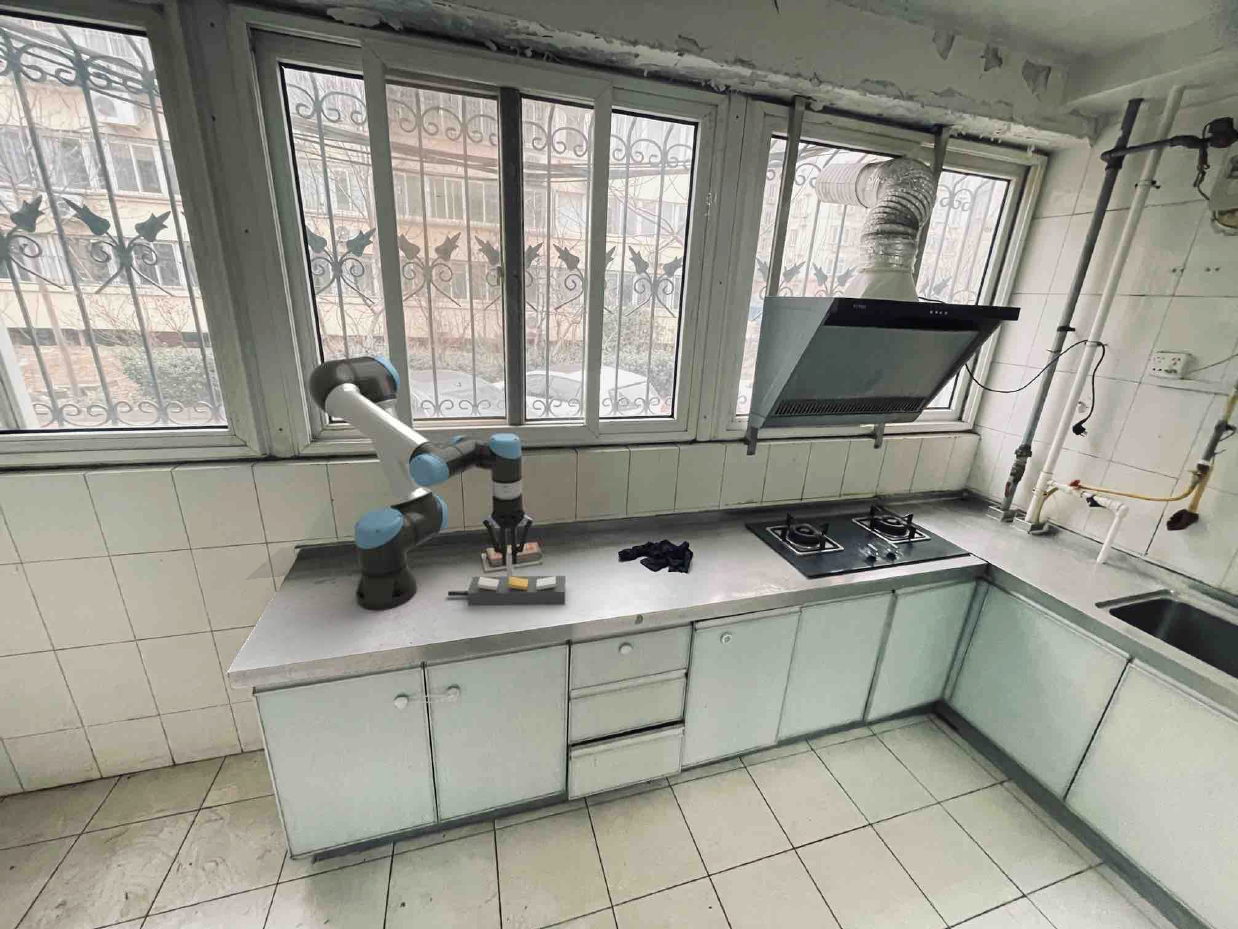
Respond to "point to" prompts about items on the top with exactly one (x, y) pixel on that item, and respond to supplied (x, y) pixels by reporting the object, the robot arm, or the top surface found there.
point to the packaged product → (526, 558)
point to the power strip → (514, 593)
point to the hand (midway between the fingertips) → (510, 574)
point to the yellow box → (518, 583)
